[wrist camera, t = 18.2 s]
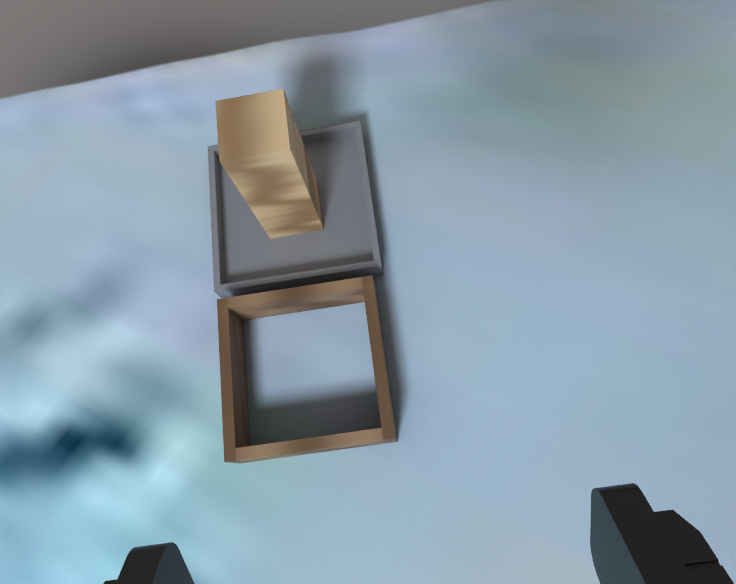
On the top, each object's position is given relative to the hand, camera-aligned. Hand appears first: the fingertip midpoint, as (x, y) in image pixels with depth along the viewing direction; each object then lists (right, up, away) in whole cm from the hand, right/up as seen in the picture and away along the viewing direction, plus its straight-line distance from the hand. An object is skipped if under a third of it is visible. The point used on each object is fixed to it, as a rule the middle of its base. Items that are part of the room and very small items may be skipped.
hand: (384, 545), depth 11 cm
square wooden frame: (-5, -1, +32) cm, 33 cm away
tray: (-6, +11, +37) cm, 39 cm away
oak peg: (-6, +12, +36) cm, 38 cm away
